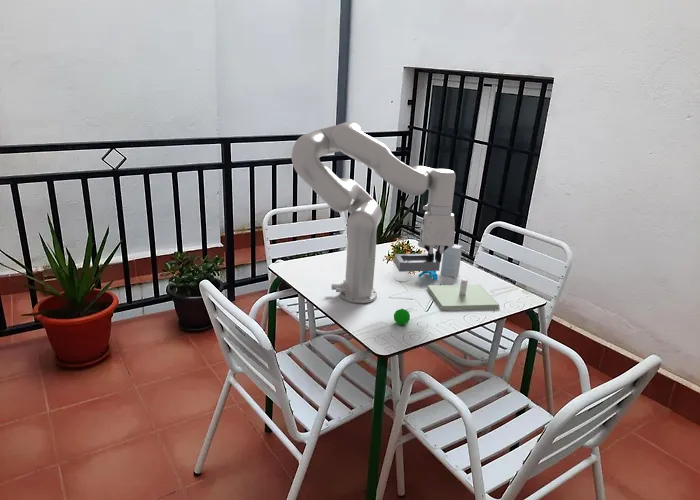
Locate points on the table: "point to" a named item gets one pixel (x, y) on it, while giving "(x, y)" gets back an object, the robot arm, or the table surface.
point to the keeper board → (462, 296)
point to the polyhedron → (402, 316)
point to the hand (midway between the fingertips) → (433, 263)
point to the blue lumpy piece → (432, 274)
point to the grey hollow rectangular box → (416, 262)
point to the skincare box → (451, 261)
